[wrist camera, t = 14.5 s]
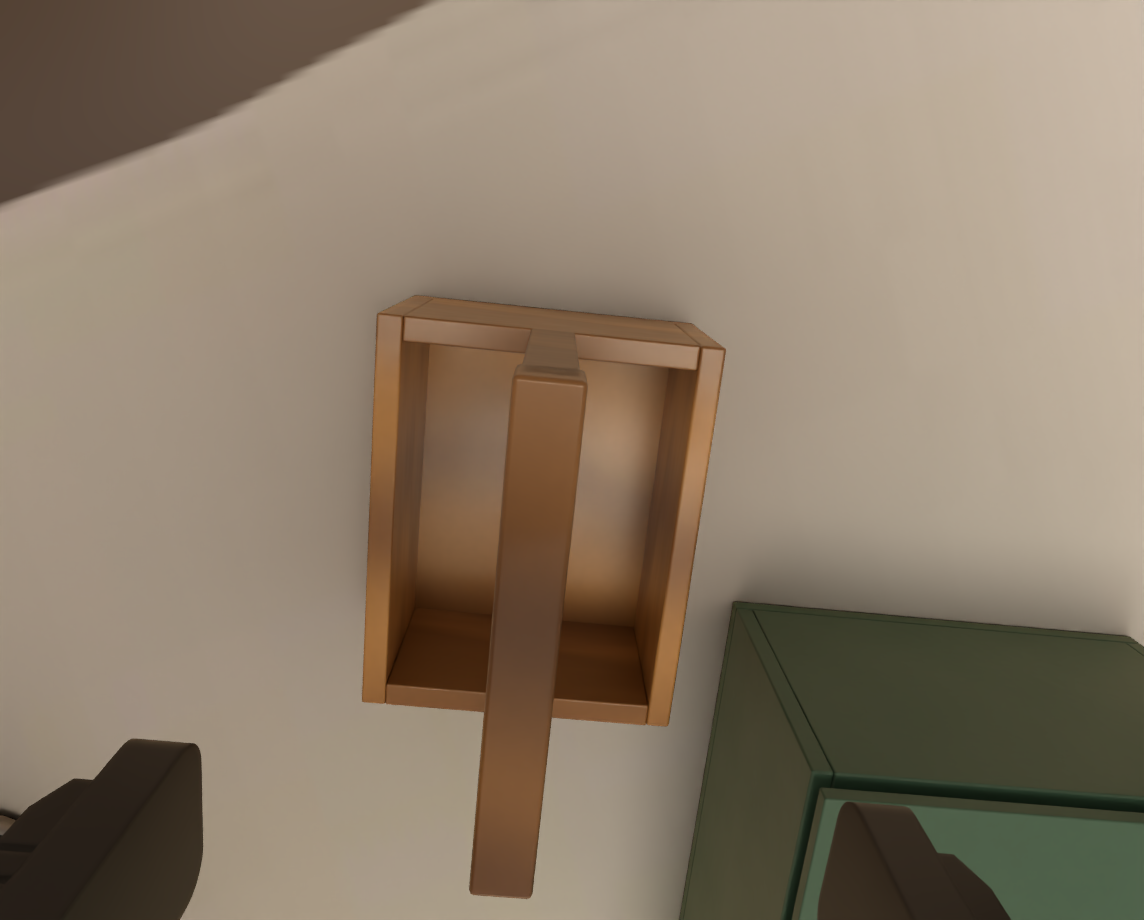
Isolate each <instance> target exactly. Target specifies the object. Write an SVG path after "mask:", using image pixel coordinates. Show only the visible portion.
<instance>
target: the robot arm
mask: <svg viewBox="0 0 1144 920" xmlns="http://www.w3.org/2000/svg"><path fill="white" fill-rule="evenodd" d="M202 855H203V817H202V770H201V754H200V750H199V747H198V746H197V745H196V744H193V743H181V742H170V741H158V740H146V739H130V740H128V741H127V742H126V743H125V744H124V745H123V746H122V747H121V748H120V749H119V750H118V751H117V753H116V754H115V755H114V756H113V757H112V759H111V760H110V761H109V762H108V763H107V764H106V766H105V767H104V768H103V769H102V770H101V771H100V773H99V774H98V775H97V776H96V777H95V779H94V780H85V779H72V780H71V781H69V782H68V783H66V784H64V785H63V786H61V787H60V788H58V789H56V790H55V791H53V792H52V793H50V794H48V795H47V796H45V797H44V798H42V799H40V800H39V801H37V802H36V803H34V804H32V805H31V806H29V807H28V808H27V809H26V810H25V811H24V812H23V814H22V815H21V816H20V817H19V818H18V819H17V820H14V819H11V818H8V817H6V816H2V815H0V920H180V918H181V917H182V915H183V913H184V911H185V909H186V908H187V906H188V904H189V902H190V899H191V897H192V895H193V892H194V889H195V886H196V883H197V880H198V876H199V872H200V867H201V862H202ZM817 920H1011V919H1010V917H1009V915H1008V914H1007V912H1006V911H1005V909H1004V908H1003V906H1002V905H1001V903H1000V901H999V900H998V898H997V897H996V895H995V894H994V892H993V890H992V889H991V888H990V887H989V886H988V885H987V884H986V883H985V882H984V881H983V880H981V879H980V878H979V877H978V876H977V875H976V874H975V873H974V872H973V871H972V870H970V869H969V868H968V867H967V866H966V865H965V864H964V863H963V862H962V861H961V860H959V859H958V858H957V857H956V856H955V855H954V854H945V853H937V851H936V849H935V848H934V846H933V844H932V843H931V841H930V839H929V838H928V836H927V834H926V832H925V831H924V829H923V827H922V826H921V824H920V822H919V821H918V819H917V817H916V816H915V814H914V813H913V811H912V810H911V809H910V808H908V807H905V806H896V805H884V804H872V803H860V802H849V801H848V802H845V803H844V804H843V805H842V807H841V809H840V811H839V814H838V817H837V822H836V826H835V830H834V835H833V839H832V843H831V848H830V852H829V856H828V861H827V865H826V869H825V874H824V878H823V883H822V887H821V891H820V896H819V901H818V911H817Z"/></svg>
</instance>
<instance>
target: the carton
mask: <svg viewBox="0 0 1144 920" xmlns="http://www.w3.org/2000/svg"><path fill="white" fill-rule="evenodd" d="M848 801H849V802H860V803H872V804H884V805H896V806H905V807H908V808H910V809H911V810H912V811H913V813H914V814H915V816H916V817H917V819H918V821H919V822H920V824H921V826H922V827H923V829H924V831H925V832H926V834H927V836H928V838H929V839H930V841H931V843H932V844H933V846H934V848H935V849H936V851H937V853H945V854H954V855H955V856H956V857H957V858H958V859H959V860H961V861H962V862H963V863H964V864H965V865H966V866H967V867H968V868H969V869H970V870H972V871H973V872H974V873H975V874H976V875H977V876H978V877H979V878H980V879H981V880H983V881H984V882H985V883H986V884H987V885H988V886H989V887H990V888H991V889H992V890H993V892H994V894H995V895H996V897H997V898H998V900H999V901H1000V903H1001V905H1002V906H1003V908H1004V909H1005V911H1006V912H1007V914H1008V915H1009V917H1010V919H1011V920H1144V647H1143V646H1142V645H1140V644H1139V643H1138V642H1137V641H1135V640H1134V639H1132V638H1131V637H1127V636H1116V635H1104V634H1093V633H1082V632H1070V631H1059V630H1048V629H1037V628H1025V627H1014V626H1003V625H991V624H980V623H969V622H958V621H946V620H935V619H924V618H912V617H901V616H890V615H879V614H867V613H856V612H845V611H833V610H822V609H811V608H800V607H788V606H777V605H766V604H754V603H743V602H734V603H733V608H732V614H731V620H730V625H729V631H728V637H727V643H726V649H725V655H724V661H723V667H722V672H721V678H720V684H719V690H718V696H717V702H716V708H715V714H714V719H713V725H712V731H711V737H710V743H709V749H708V755H707V761H706V766H705V772H704V778H703V784H702V790H701V796H700V802H699V808H698V814H697V819H696V825H695V831H694V837H693V843H692V849H691V855H690V861H689V866H688V872H687V878H686V884H685V890H684V896H683V902H682V908H681V913H680V919H679V920H817V911H818V901H819V896H820V891H821V887H822V883H823V878H824V874H825V869H826V865H827V861H828V856H829V852H830V848H831V843H832V839H833V835H834V830H835V826H836V822H837V817H838V814H839V811H840V809H841V807H842V805H843V804H844V803H845V802H848Z"/></svg>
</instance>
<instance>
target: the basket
mask: <svg viewBox="0 0 1144 920" xmlns="http://www.w3.org/2000/svg"><path fill="white" fill-rule="evenodd" d="M725 354H726V349H725V348H724V347H722V346H721V345H720V344H718V343H717V342H716V341H714V340H713V339H712V338H710V337H709V336H708V335H706V334H705V333H703V332H702V331H701V330H699V329H698V328H697V327H696V326H694V325H693V324H691V323H681V322H671V321H662V320H652V319H642V318H633V317H623V316H613V315H603V314H594V313H584V312H574V311H564V310H555V309H545V308H535V307H525V306H516V305H506V304H496V303H487V302H477V301H467V300H457V299H448V298H438V297H428V296H418V295H415V296H412V297H410V298H408V299H406V300H404V301H402V302H400V303H398V304H396V305H394V306H392V307H390V308H388V309H386V310H383V311H381V312H379V313H378V314H377V326H376V352H375V378H374V404H373V429H372V455H371V481H370V507H369V532H368V558H367V584H366V610H365V636H364V661H363V687H362V701H363V702H369V703H381V704H383V703H385V702H386V704H392V705H405V706H417V707H429V708H441V709H453V710H466V711H478V712H484V719H483V731H482V743H481V755H480V767H479V779H478V791H477V802H476V814H475V826H474V838H473V850H472V862H471V873H470V885H469V890H470V893H471V894H472V895H480V896H494V897H508V898H521V899H528V898H530V897H531V895H532V892H533V883H534V874H535V865H536V856H537V847H538V838H539V828H540V819H541V810H542V801H543V792H544V783H545V774H546V765H547V756H548V746H549V737H550V728H551V719H552V718H563V719H575V720H588V721H600V722H612V723H624V724H637V725H645V724H647V725H653V726H668V724H669V718H670V712H671V705H672V699H673V692H674V686H675V679H676V673H677V666H678V660H679V653H680V647H681V640H682V634H683V627H684V621H685V614H686V608H687V601H688V595H689V588H690V582H691V575H692V569H693V562H694V556H695V549H696V543H697V536H698V530H699V523H700V517H701V510H702V504H703V497H704V491H705V484H706V478H707V471H708V465H709V458H710V452H711V445H712V439H713V432H714V425H715V419H716V412H717V406H718V399H719V393H720V386H721V380H722V373H723V367H724V360H725Z"/></svg>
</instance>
